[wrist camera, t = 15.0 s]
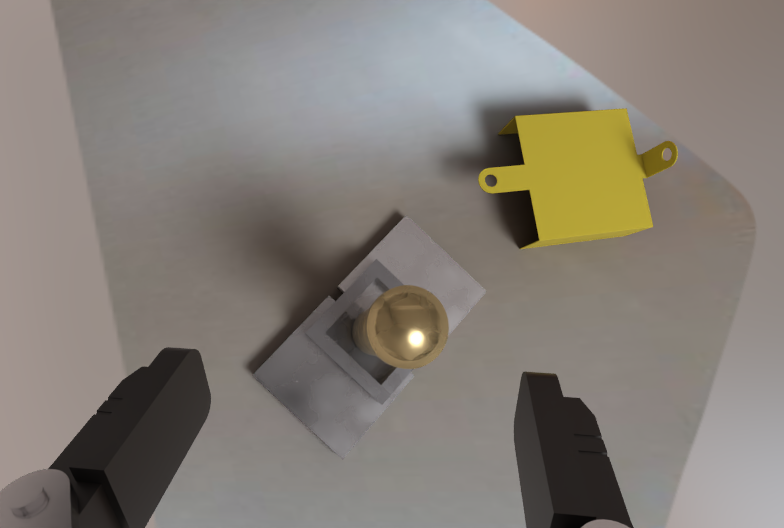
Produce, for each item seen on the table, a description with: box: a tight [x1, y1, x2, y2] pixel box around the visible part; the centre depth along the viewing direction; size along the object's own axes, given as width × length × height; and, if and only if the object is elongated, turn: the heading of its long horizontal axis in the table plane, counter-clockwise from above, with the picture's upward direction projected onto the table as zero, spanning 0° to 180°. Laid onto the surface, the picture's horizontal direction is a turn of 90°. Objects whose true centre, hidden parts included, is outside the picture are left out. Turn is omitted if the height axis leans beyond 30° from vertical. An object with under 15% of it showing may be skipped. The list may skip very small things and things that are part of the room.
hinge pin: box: [352, 285, 449, 369], centre depth 32 cm, size 4×4×12 cm
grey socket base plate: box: [253, 215, 487, 459], centre depth 37 cm, size 9×17×2 cm, turn 138°
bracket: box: [478, 109, 678, 249], centre depth 40 cm, size 16×8×15 cm
